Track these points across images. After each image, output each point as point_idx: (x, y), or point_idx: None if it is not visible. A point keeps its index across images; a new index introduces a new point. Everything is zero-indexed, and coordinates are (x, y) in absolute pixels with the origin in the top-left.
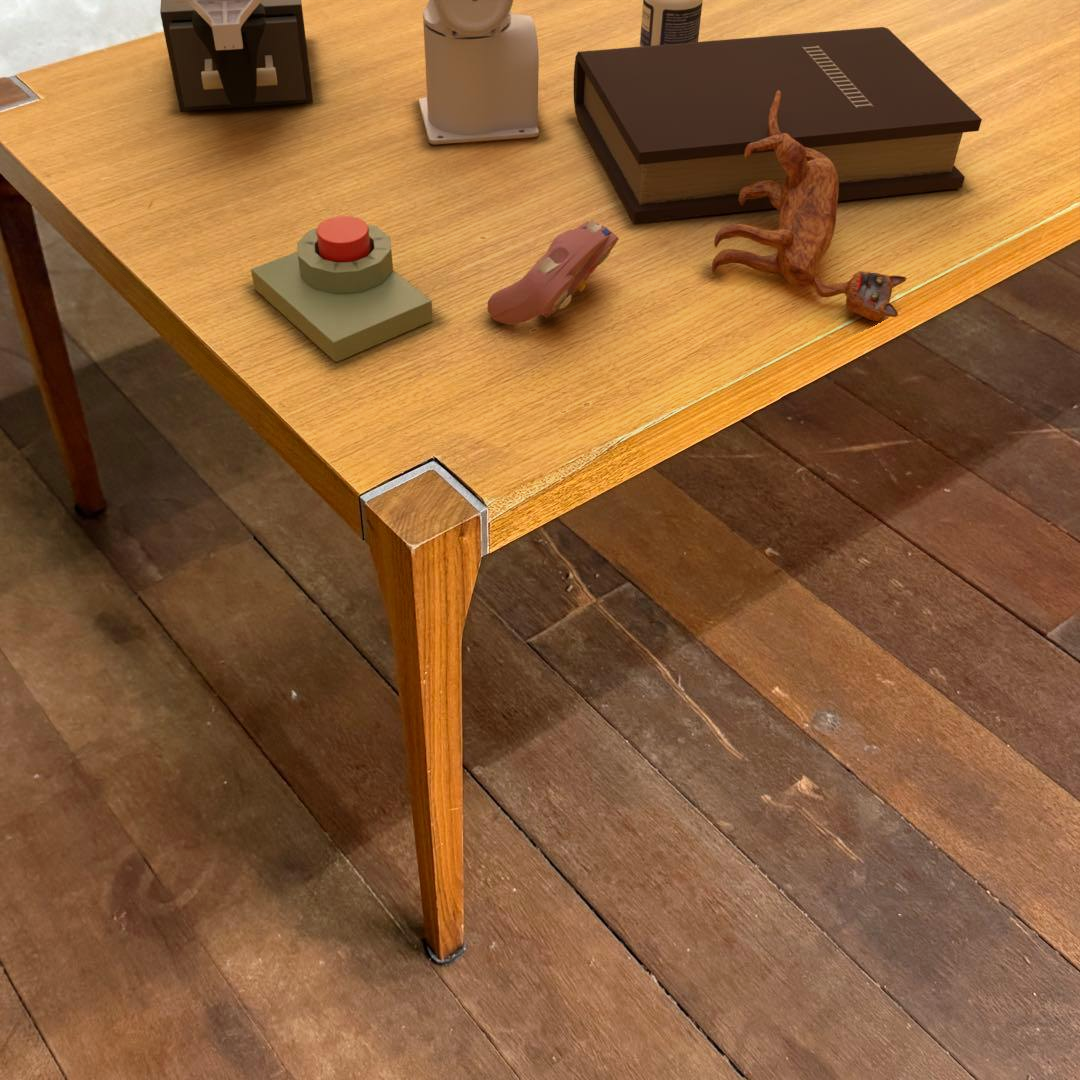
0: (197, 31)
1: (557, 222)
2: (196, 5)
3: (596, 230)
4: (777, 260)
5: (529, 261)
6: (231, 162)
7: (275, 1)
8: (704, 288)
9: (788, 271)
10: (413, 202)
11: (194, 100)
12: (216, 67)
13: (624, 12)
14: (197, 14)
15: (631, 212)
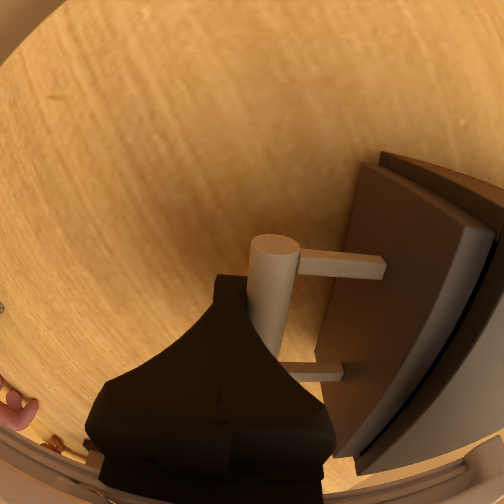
0: (97, 400)
1: (78, 420)
2: (2, 495)
3: (7, 426)
4: (55, 450)
5: (35, 392)
6: (158, 219)
7: (396, 455)
8: (43, 426)
9: (46, 447)
10: (80, 374)
11: (362, 186)
12: (201, 318)
13: (361, 479)
14: (216, 455)
15: (88, 443)
